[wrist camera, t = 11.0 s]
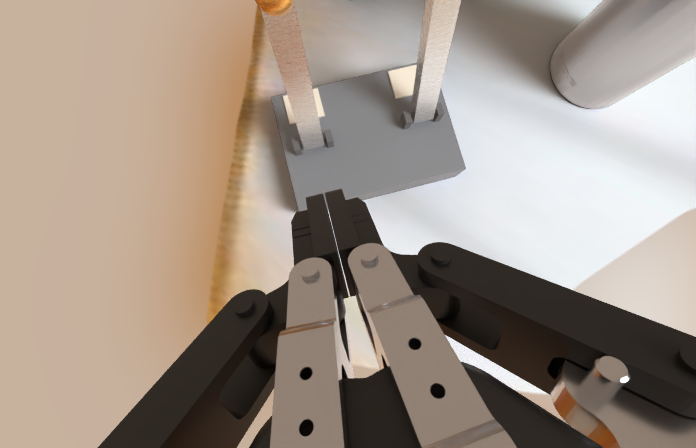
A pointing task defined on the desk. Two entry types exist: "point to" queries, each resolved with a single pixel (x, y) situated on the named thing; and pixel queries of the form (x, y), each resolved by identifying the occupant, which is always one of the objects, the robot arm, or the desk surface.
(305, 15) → the desk surface
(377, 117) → the switch console
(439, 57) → the lever
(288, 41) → the lever
